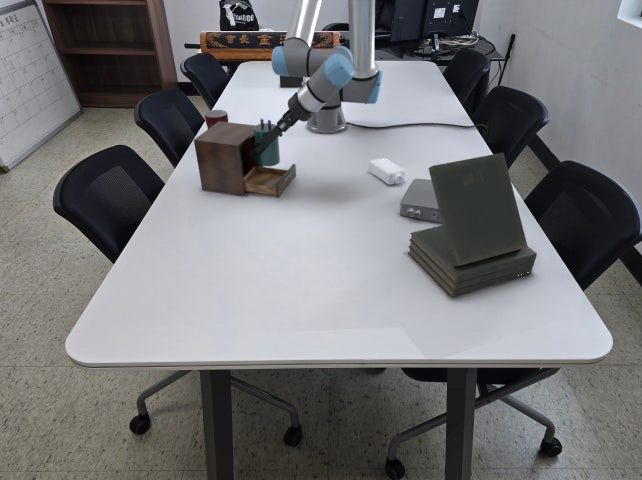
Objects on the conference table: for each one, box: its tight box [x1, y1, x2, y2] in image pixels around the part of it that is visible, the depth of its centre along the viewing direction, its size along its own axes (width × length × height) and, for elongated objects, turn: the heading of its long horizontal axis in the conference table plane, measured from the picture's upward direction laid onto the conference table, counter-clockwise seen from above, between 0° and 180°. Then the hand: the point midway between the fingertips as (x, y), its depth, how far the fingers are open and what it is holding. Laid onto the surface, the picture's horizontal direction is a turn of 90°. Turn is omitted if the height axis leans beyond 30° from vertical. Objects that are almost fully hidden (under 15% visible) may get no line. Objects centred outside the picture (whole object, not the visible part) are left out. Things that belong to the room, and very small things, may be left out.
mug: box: [204, 109, 229, 130], centre depth 180 cm, size 10×8×10 cm
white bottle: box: [368, 157, 406, 186], centre depth 159 cm, size 6×13×4 cm, turn 30°
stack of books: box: [407, 152, 538, 299], centre depth 115 cm, size 23×20×25 cm
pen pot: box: [254, 118, 281, 167], centre depth 145 cm, size 7×7×13 cm
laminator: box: [279, 75, 305, 88], centre depth 248 cm, size 34×12×6 cm, turn 2°
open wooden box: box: [193, 121, 265, 197], centre depth 152 cm, size 14×16×16 cm
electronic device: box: [399, 178, 443, 224], centre depth 143 cm, size 19×22×5 cm
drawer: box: [244, 163, 297, 199], centre depth 153 cm, size 14×15×4 cm
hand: (256, 151), depth 148 cm, fingers closed on pen pot, 7 cm apart
